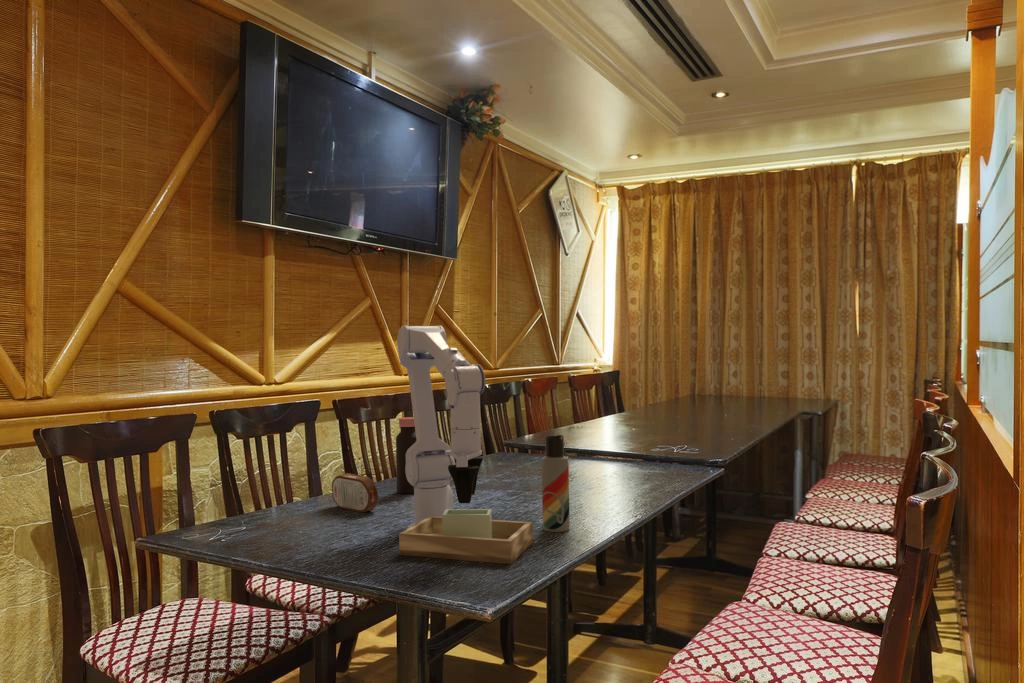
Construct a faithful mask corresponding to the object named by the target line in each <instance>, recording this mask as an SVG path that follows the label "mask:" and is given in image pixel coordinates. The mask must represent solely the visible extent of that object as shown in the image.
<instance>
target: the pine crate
mask: <svg viewBox="0 0 1024 683" xmlns="http://www.w3.org/2000/svg"><path fill="white" fill-rule="evenodd" d="M533 527H534V526H533V521H520V520H519V521H516V520H501V519H492V538H478V537H464V536H449V535H443V533H442V517H439V516H429V517H428V518H426V519H424V520H422V521H420V522H419V523H417V524H415V525H413V526H412V527H410V528H406V529H405V530H403V531H401V532H399V534H398V541H399V542H398V543H399V546H398V547H399V555H400V556H408V557H422V558H433V559H435V558H436V559H444V560H445V559H447V560H456V561H457V560H458V561H471V562H480V563H481V562H482V563H484V562H485V563H496V564H506V565H507V564H509V565H512V564H513V563H514V562H515V561H516V560H517V559H518V557H520V556H521V555H522V554H523V553H524V552H525V551H526V550H527V549H528V548H529V547H530V546H531V545H532V544H533V543H534V540H533V539H534V535H533V534H534V529H533Z"/></svg>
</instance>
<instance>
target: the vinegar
mask: <svg viewBox="0 0 1024 683" xmlns="http://www.w3.org/2000/svg"><path fill="white" fill-rule="evenodd" d="M398 427H399V429H400V431H399V433H398V434H396V436H395V457H396V459H395V462H396V463H395V464H396V468H395V469H396V493H397V494H400V495H414V486H413V485H411V484H410V483H409V482H408V480H407V477H406V472H405V465H406V452H407V450H408V449H409V448H410V447H411V446H412V445H413V444H414V443H415V442H416V441H417V440H416V432H415V424H414V416H411V417H410V416H409V417H408V416H407V417H405V416H404V417H399V418H398ZM416 456H421V455H416Z"/></svg>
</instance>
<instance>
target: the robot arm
mask: <svg viewBox="0 0 1024 683" xmlns="http://www.w3.org/2000/svg"><path fill="white" fill-rule="evenodd" d="M396 340H397V341H396V343H397V351H398V352H397V353H398V359H399V362H400V363H399V364H400V365H401V366H402V367H404V368H405V369H406V371H407V372H406V373H407V377H408V384H409V392H410V399H411V407H412V414H413V416H412V417H414V424H415V432H416V440H417V441H416V442H415V443H414V444H413V445H412V446H411V447H410V448H409V449H408V450H407V452H406V465H405V472H406V477H407V480H408V482H409V483H410V484H411V485H413V486H414V494H413V500H414V501H413V503H414V504H413V507H414V510H413V511H414V514H413V516H414V522H413V523H411V524H410V525H407V528H406V529H408V528H410V527H412V526H413V525H415V524H417V523H419V522H420V521H422V520H424V519H426V518H428V517H429V516H439V517H442V515H443V513H444V512H445V510H446V509H454V492H453V490H452V487H451V486H450V485H451V482H452V480H453V484H454V487H455V488H454V489H455V492H456V497H457V501H458V504H471V501H472V496H473V495H475V493H476V488H477V482H478V477H479V471H480V468H481V465H482V462H483V460H484V456H481V455H482V454H483V450H482V447H481V446H482V444H481V442H482V441H481V440H482V439H481V438H482V437H481V436H482V435H481V434H482V433H481V430H482V429H481V395H482V394H483V392H484V390H485V387H486V376H485V371H484V369H483V367H482V366H481V364H471V363H470V362H469V361H468V360H467V359H466V358H465V357H464V356H463V354H462V353H461V352H460V351H459V349H458V348H457V347H450V346H449V345H448V343H447V342H448V341H447V333H446V330H445V328H444V327H443V325H440V324H439V325H406V324H405V325H402V326H401V327H400V328H399V329H398V333H397V338H396ZM433 367H435V368H436V370H437V371H438V372H439V374H440V375H441V376H442V377H443V380H444V384H445V385H444V386H445V392H446V394H447V403H448V405H450V445H449V444H448V443H446V442H445V441H444V440H442V439H441V438H439V432H438V430H439V429H438V424H437V416H436V409H435V401H434V394H433V387H432V386H433V385H432V380H431V372H430V371H431V368H433ZM416 455H421V456H416Z"/></svg>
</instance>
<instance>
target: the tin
mask: <svg viewBox="0 0 1024 683" xmlns="http://www.w3.org/2000/svg"><path fill="white" fill-rule="evenodd" d="M331 493H332V499H333V501H334V502H335V504H336V506H337V507H339V508H340V509H344V510H347V511H348V510H349V511H353V512H356V513H366V512H369V511H373V510H374V509H375V508H376V507H377V505H378V502H379V492H378V489H377V486H376V484H375V483H374V481H373V479H371V478H370V477H369V476H366V475H365V476H364V475H359V474H354V473H348V472H345V473H343V474H340V475H337V476H335V477H334V478H333V480H332V481H331Z"/></svg>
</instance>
